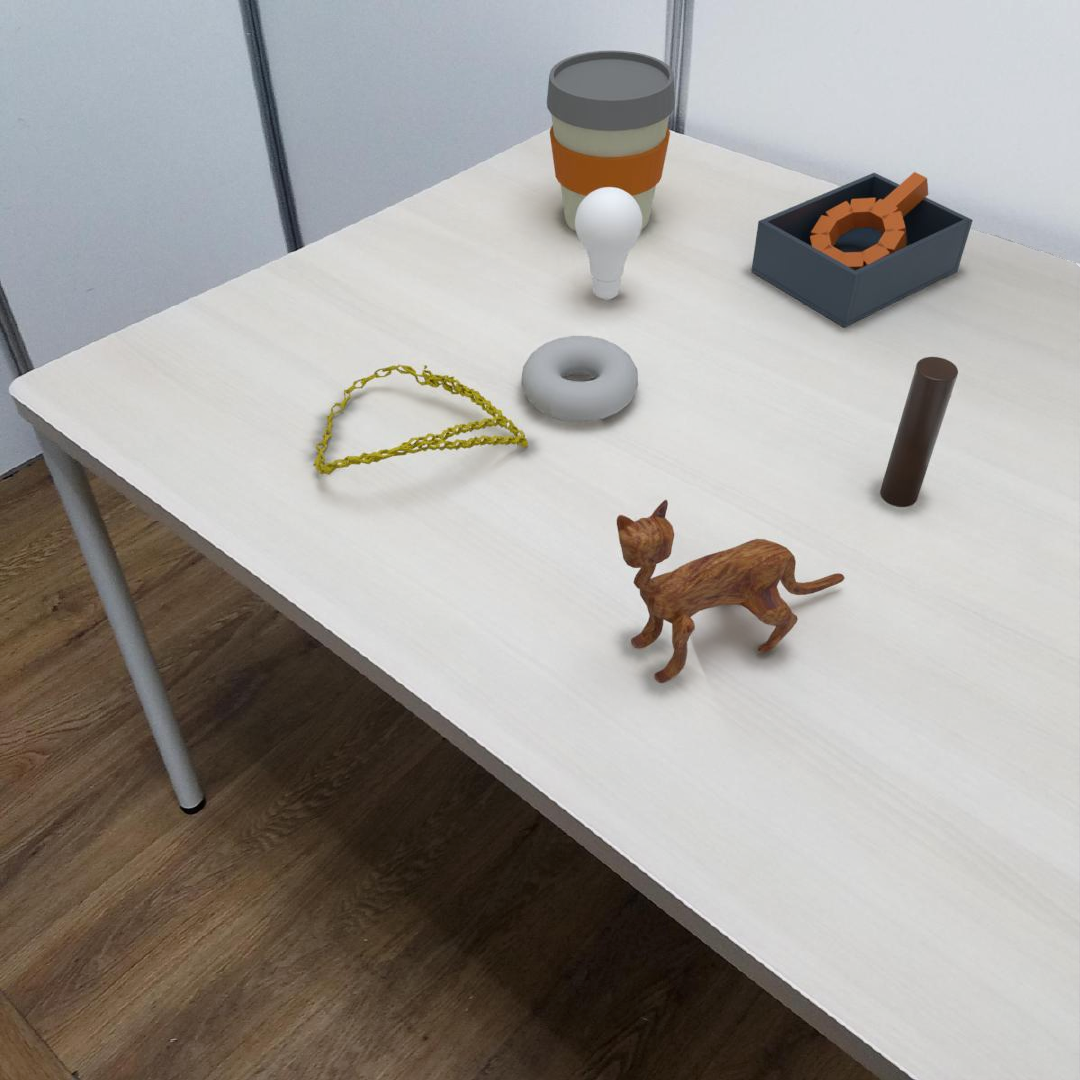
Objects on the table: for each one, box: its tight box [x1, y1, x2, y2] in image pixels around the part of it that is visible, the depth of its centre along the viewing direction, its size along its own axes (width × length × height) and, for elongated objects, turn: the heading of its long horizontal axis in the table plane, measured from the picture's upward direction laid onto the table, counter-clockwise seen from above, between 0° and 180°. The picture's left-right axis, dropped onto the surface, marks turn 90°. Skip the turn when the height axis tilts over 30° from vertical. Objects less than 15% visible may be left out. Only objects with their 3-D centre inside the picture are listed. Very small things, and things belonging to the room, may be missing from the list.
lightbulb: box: [575, 187, 642, 301], centre depth 99 cm, size 6×6×11 cm
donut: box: [520, 335, 639, 423], centre depth 91 cm, size 10×4×10 cm
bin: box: [751, 172, 973, 328], centre depth 103 cm, size 16×12×6 cm
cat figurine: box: [616, 499, 846, 684], centre depth 68 cm, size 18×7×14 cm, turn 114°
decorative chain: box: [312, 364, 529, 476], centre depth 86 cm, size 16×15×5 cm
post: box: [879, 356, 959, 508], centre depth 78 cm, size 3×3×12 cm
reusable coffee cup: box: [546, 50, 676, 233], centre depth 108 cm, size 13×12×15 cm
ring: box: [810, 171, 929, 271], centre depth 103 cm, size 13×9×2 cm
